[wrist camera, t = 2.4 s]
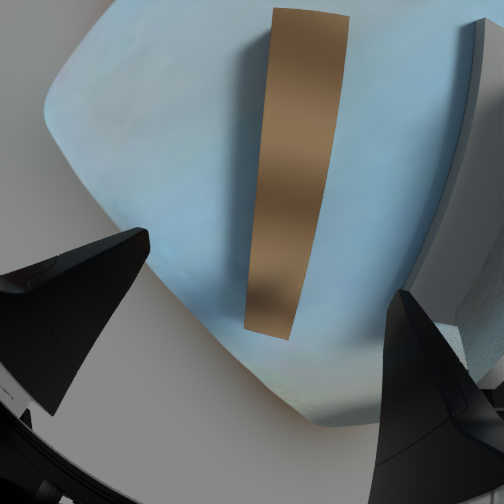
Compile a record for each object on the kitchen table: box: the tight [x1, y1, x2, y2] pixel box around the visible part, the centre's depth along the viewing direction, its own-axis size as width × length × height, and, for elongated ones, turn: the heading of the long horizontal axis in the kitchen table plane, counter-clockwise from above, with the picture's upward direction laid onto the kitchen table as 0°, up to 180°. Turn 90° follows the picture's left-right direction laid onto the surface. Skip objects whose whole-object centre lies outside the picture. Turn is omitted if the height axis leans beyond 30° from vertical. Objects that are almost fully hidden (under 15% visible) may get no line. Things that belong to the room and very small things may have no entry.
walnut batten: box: [244, 8, 350, 340], centre depth 14 cm, size 18×3×3 cm, turn 175°
